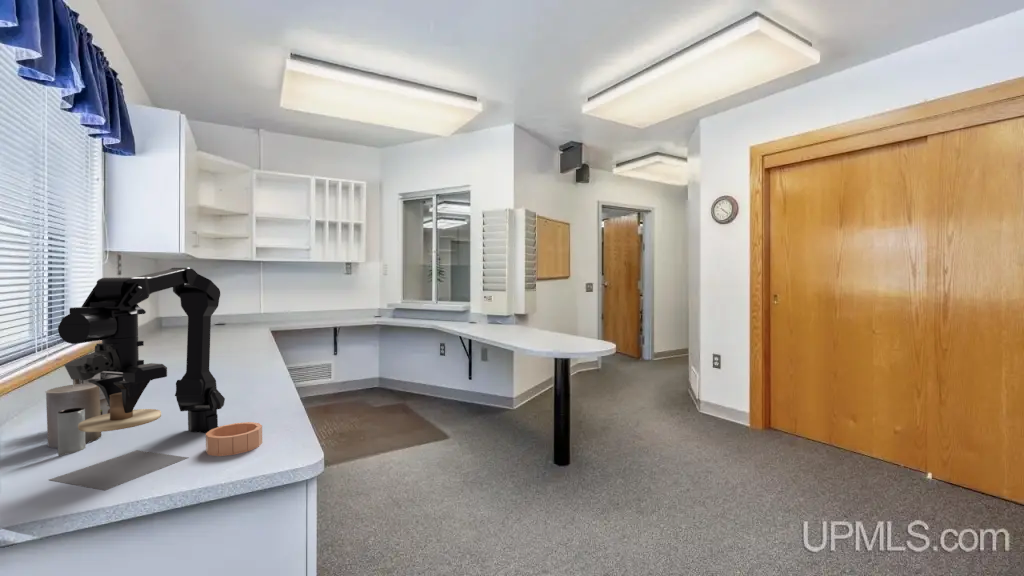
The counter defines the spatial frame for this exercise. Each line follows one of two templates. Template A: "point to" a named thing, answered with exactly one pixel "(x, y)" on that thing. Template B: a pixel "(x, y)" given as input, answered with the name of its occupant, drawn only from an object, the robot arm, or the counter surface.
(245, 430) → the bowl
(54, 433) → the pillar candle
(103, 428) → the lid
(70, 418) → the planter
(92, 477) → the mat
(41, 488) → the counter surface
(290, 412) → the counter surface
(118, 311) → the robot arm
